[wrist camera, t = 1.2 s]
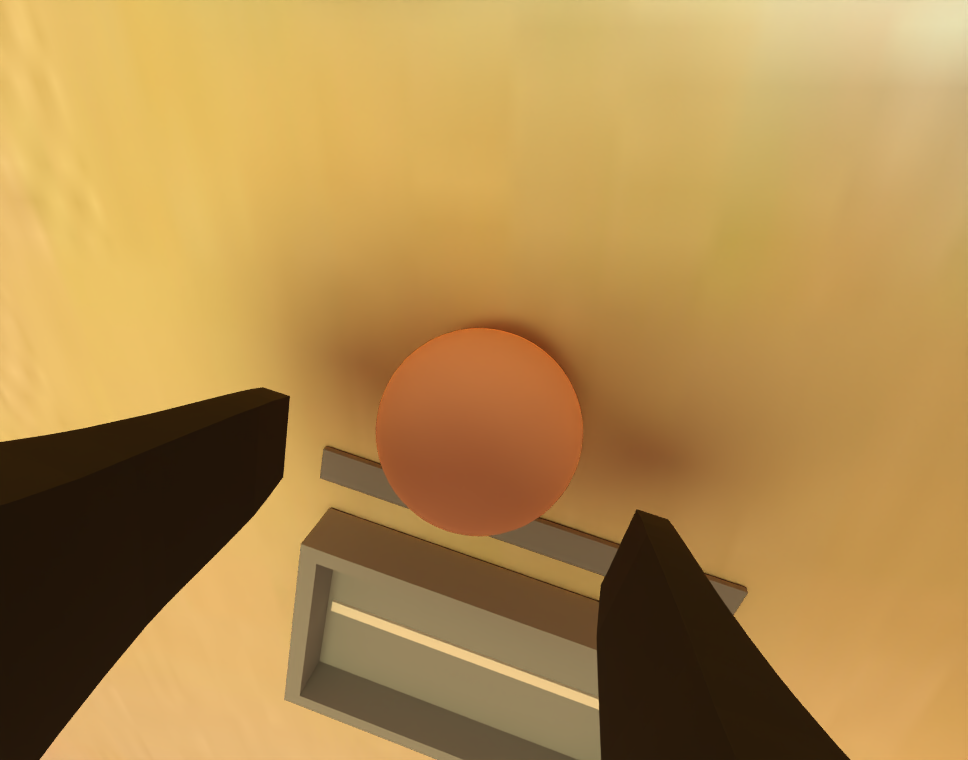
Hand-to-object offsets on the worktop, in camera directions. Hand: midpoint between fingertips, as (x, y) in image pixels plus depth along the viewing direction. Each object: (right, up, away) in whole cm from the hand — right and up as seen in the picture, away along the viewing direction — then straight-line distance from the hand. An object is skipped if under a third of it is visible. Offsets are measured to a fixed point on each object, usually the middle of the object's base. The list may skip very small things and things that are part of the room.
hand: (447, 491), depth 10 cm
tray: (+1, -8, +9) cm, 12 cm away
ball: (+1, +1, +2) cm, 3 cm away
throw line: (+2, -3, +6) cm, 7 cm away
